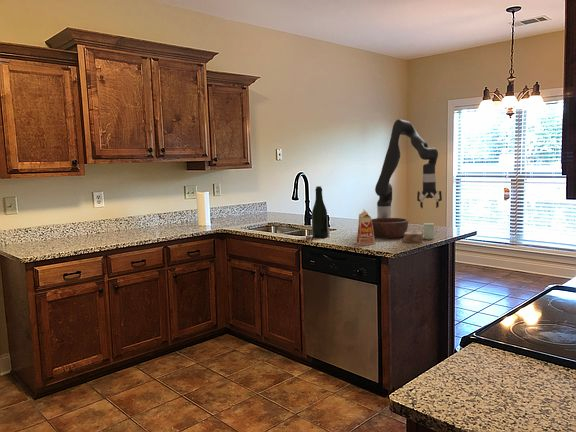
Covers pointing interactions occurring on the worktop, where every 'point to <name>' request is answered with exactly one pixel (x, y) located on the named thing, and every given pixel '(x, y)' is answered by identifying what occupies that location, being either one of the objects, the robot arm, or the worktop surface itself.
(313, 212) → the beer bottle
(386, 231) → the wooden bowl
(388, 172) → the robot arm
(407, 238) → the walnut block
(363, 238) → the milk carton
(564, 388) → the worktop surface
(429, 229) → the canister
